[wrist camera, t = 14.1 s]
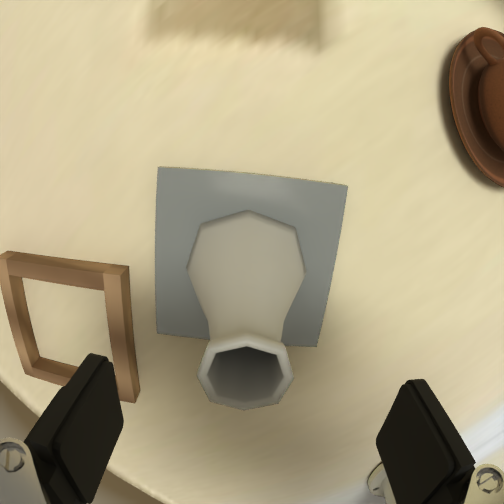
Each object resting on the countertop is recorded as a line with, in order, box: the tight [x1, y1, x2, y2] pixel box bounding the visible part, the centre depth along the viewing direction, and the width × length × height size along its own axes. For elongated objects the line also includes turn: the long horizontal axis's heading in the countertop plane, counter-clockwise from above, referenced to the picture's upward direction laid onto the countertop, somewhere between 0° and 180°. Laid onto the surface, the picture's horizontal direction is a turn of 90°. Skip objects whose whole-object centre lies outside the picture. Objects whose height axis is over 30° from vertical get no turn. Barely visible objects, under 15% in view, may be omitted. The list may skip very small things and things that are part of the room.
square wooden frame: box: [0, 251, 140, 403], centre depth 21 cm, size 11×11×2 cm
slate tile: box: [155, 166, 348, 347], centre depth 20 cm, size 11×11×1 cm
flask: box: [186, 210, 307, 410], centre depth 15 cm, size 7×7×10 cm
